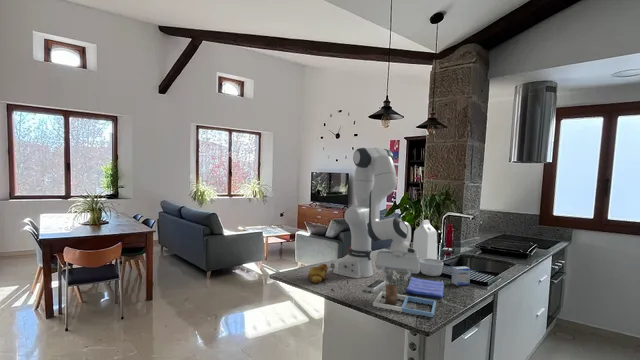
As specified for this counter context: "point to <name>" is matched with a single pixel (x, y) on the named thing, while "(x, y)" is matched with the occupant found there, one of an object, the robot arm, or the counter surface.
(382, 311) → the counter surface
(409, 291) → the dish towel
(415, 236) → the milk
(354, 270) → the robot arm
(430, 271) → the ramekin
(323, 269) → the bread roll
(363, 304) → the counter surface
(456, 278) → the medicine box
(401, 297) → the sorting rack
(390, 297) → the brown cylinder
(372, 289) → the multiport hub
